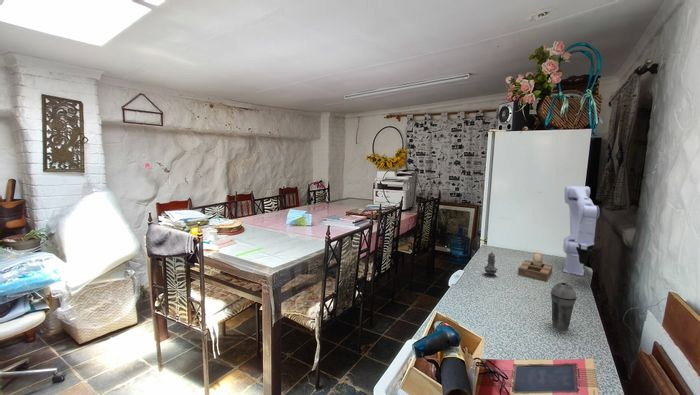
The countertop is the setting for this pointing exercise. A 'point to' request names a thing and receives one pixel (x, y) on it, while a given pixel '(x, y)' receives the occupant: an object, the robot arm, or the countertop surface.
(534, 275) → the block
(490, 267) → the grey chess piece
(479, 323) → the countertop surface
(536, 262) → the beech pin
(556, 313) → the beverage cup
